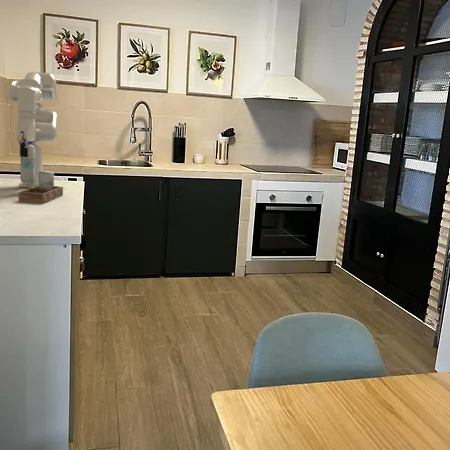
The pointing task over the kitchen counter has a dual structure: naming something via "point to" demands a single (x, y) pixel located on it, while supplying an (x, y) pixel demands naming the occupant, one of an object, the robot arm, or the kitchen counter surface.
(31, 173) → the bottle
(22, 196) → the wooden divided box
